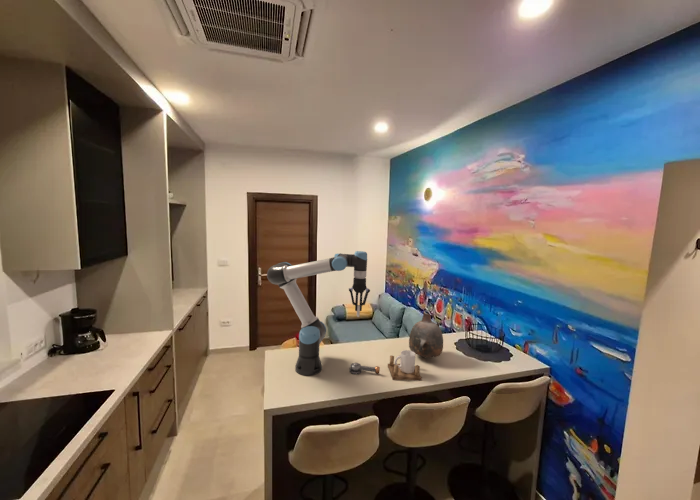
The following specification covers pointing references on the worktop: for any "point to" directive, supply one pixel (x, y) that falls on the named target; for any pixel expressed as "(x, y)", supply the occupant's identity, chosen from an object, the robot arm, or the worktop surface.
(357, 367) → the grey metal tool
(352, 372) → the nut washer
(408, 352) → the mug
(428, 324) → the jug
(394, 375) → the peg rest
